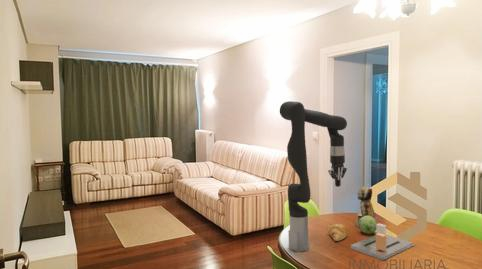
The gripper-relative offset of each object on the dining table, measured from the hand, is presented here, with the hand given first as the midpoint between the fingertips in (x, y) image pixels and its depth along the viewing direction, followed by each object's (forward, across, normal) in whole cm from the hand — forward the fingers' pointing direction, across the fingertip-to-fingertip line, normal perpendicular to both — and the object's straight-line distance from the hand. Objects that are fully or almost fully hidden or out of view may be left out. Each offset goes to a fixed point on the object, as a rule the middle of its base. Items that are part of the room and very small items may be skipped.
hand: (337, 186), depth 182 cm
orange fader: (+27, 0, -25) cm, 37 cm away
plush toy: (+29, +28, +3) cm, 41 cm away
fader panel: (+29, +7, -21) cm, 36 cm away
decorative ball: (+29, +19, -5) cm, 35 cm away
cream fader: (+27, +13, -17) cm, 34 cm away
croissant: (+29, +3, +4) cm, 30 cm away
